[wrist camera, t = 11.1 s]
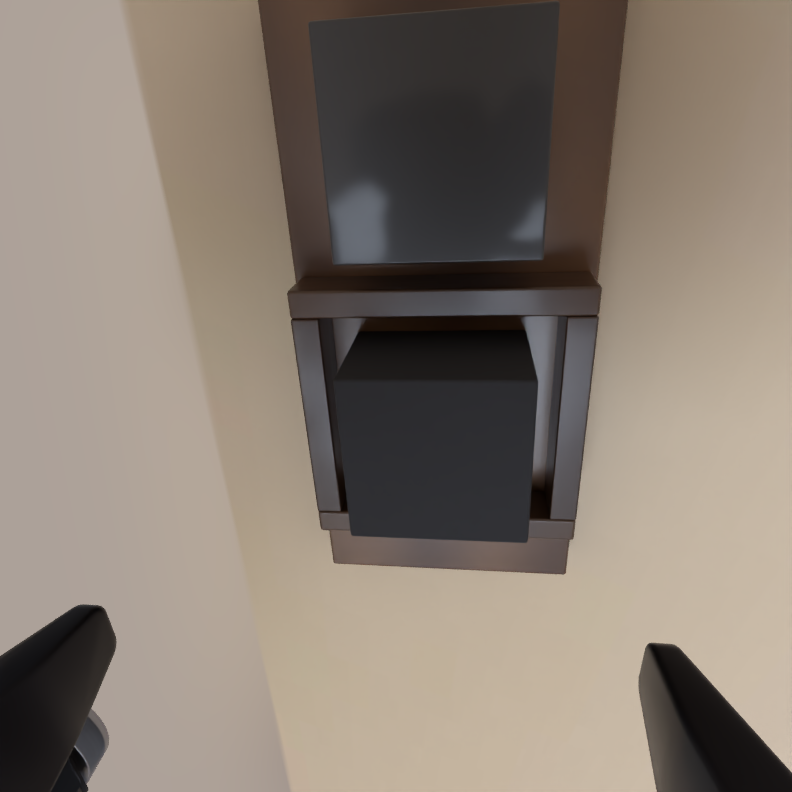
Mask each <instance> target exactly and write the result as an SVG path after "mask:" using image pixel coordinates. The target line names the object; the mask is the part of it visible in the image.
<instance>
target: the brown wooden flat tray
mask: <svg viewBox="0 0 792 792" xmlns="http://www.w3.org/2000/svg"><path fill="white" fill-rule="evenodd" d="M258 3H259V11H260V18H261V26H262V33H263V40H264V48H265V55H266V63H267V70H268V78H269V85H270V92H271V100H272V107H273V115H274V122H275V130H276V137H277V144H278V152H279V159H280V167H281V174H282V182H283V189H284V196H285V204H286V211H287V219H288V226H289V234H290V241H291V248H292V256H293V263H294V271H295V278H296V284H295V285H294V286H293V287H292V288H291V289H290V290H289V291H288V293H287V295H288V302H289V309H290V316H291V318H292V320H291V325H292V332H293V339H294V346H295V353H296V360H297V367H298V374H299V381H300V388H301V395H302V402H303V409H304V416H305V423H306V430H307V437H308V444H309V451H310V458H311V465H312V471H313V478H314V485H315V492H316V499H317V506H318V511H319V518H320V525H321V529H323V530H329V531H330V538H331V546H332V553H333V560H334V563H338V564H359V565H380V566H401V567H422V568H442V569H463V570H484V571H505V572H525V573H546V574H565V573H566V566H567V557H568V548H569V540H571V539H573V537H574V529H575V519H576V514H577V505H578V496H579V488H580V479H581V470H582V461H583V452H584V444H585V435H586V426H587V417H588V408H589V399H590V391H591V382H592V373H593V364H594V355H595V346H596V338H597V329H598V320H599V317H598V314H599V309H600V300H601V291H602V287H601V285H600V284H599V282H598V272H599V263H600V254H601V245H602V236H603V226H604V217H605V208H606V199H607V190H608V180H609V171H610V162H611V153H612V144H613V135H614V125H615V116H616V107H617V98H618V89H619V80H620V70H621V61H622V52H623V43H624V34H625V24H626V15H627V6H628V0H258ZM470 330H525V331H526V332H527V336H528V340H529V344H530V349H531V353H532V357H533V362H534V366H535V370H536V374H537V379H538V396H537V411H536V426H535V442H534V457H533V472H532V488H531V503H530V519H529V534H528V541H527V543H511V542H486V541H461V540H436V539H412V538H387V537H362V536H352V535H351V532H350V523H349V515H348V506H347V497H346V489H345V480H344V471H343V463H342V454H341V445H340V437H339V428H338V419H337V411H336V402H335V393H334V385H333V381H334V378H335V376H336V374H337V372H338V370H339V368H340V366H341V365H342V363H343V361H344V359H345V357H346V355H347V353H348V351H349V349H350V347H351V345H352V343H353V341H354V339H355V337H356V335H357V333H358V332H360V331H470Z"/></svg>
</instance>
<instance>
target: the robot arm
mask: <svg viewBox="0 0 792 792" xmlns="http://www.w3.org/2000/svg"><path fill="white" fill-rule="evenodd" d="M115 648H116V636H115V633H114V631H113V629H112V626H111V623H110V621H109V618H108V616H107V613H106V611H105V609H104V608H103V607H101V606H98V605H78V606H76V607H74V608H72V609H71V610H69V611H68V612H66V613H65V614H63V615H62V616H60V617H58V618H57V619H55V620H54V621H53V622H51V623H49V624H48V625H47V626H45V627H43V628H42V629H40V630H39V631H37V632H36V633H34V634H33V635H31V636H30V637H28V638H27V639H26V640H24V641H22V642H21V643H19V644H18V645H16V646H15V647H13V648H12V649H10V650H9V651H7V652H6V653H4V654H3V655H1V656H0V792H87V791H88V787H87V785H86V783H85V781H84V779H83V777H82V775H81V773H80V771H79V769H78V767H77V765H76V763H75V761H74V759H73V758H72V756H71V752H72V750H73V748H74V746H75V744H76V742H77V740H78V738H79V735H80V733H81V731H82V729H83V726H84V724H85V722H86V719H87V717H88V715H89V712H90V710H91V707H92V705H93V702H94V700H95V698H96V696H97V693H98V691H99V688H100V686H101V684H102V681H103V679H104V676H105V674H106V672H107V669H108V667H109V665H110V662H111V660H112V657H113V655H114V652H115ZM639 694H640V700H641V706H642V711H643V717H644V723H645V728H646V734H647V739H648V745H649V751H650V756H651V762H652V767H653V773H654V779H655V784H656V789H657V792H792V773H791V771H790V770H789V769H788V768H787V767H786V766H785V765H784V764H783V763H782V761H781V760H780V759H779V758H778V757H777V756H776V755H775V754H774V753H773V751H772V750H771V749H770V748H769V747H768V746H767V745H766V744H765V743H764V741H763V740H762V739H761V738H760V737H759V736H758V735H757V734H756V733H755V731H754V730H753V729H752V728H751V727H750V726H749V725H748V724H747V723H746V721H745V720H744V719H743V718H742V717H741V716H740V715H739V714H738V713H737V711H736V710H735V709H734V708H733V707H732V706H731V705H730V704H729V703H728V701H727V700H726V699H725V698H724V697H723V696H722V695H721V694H720V693H719V691H718V690H717V689H716V688H715V687H714V686H713V685H712V684H711V683H710V681H709V680H708V679H707V678H706V677H705V676H704V675H703V674H702V673H701V671H700V670H699V669H698V668H697V667H696V666H695V665H694V664H693V663H692V661H691V660H690V659H689V658H688V657H687V656H686V655H685V654H684V653H683V651H682V650H681V649H680V648H678V647H677V646H675V645H673V644H663V643H649V644H648V645H647V646H646V648H645V652H644V657H643V661H642V666H641V670H640V675H639Z"/></svg>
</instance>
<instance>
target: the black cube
mask: <svg viewBox="0 0 792 792" xmlns="http://www.w3.org/2000/svg"><path fill="white" fill-rule="evenodd" d="M333 385H334V393H335V402H336V411H337V419H338V428H339V437H340V445H341V454H342V463H343V471H344V480H345V489H346V497H347V506H348V515H349V523H350V532H351V535H352V536H362V537H387V538H412V539H436V540H461V541H486V542H511V543H527V541H528V534H529V519H530V503H531V488H532V472H533V457H534V442H535V426H536V411H537V396H538V379H537V374H536V370H535V366H534V362H533V357H532V353H531V349H530V344H529V340H528V336H527V332H526V331H525V330H470V331H360V332H358V333H357V335H356V337H355V339H354V341H353V343H352V345H351V347H350V349H349V351H348V353H347V355H346V357H345V359H344V361H343V363H342V365H341V366H340V368H339V370H338V372H337V374H336V376H335V378H334V381H333Z"/></svg>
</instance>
